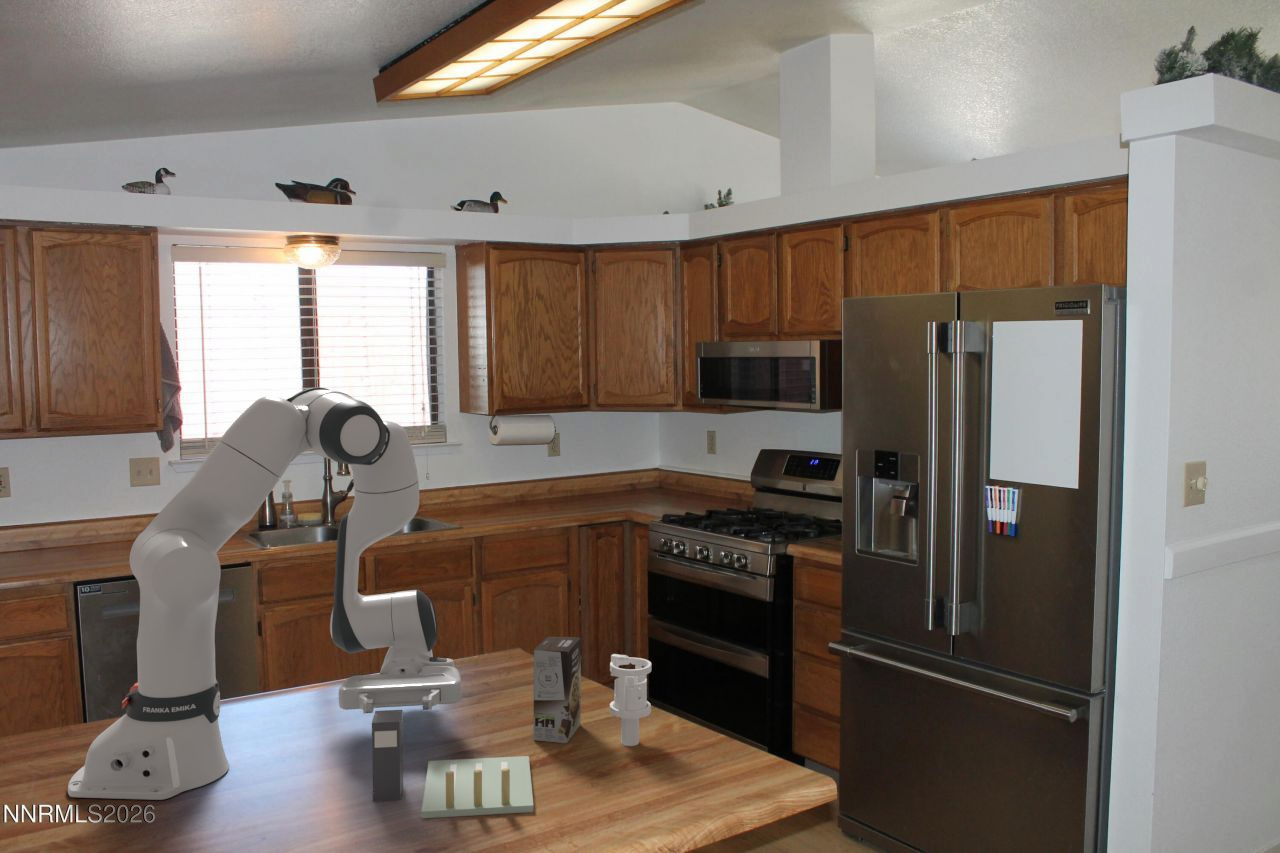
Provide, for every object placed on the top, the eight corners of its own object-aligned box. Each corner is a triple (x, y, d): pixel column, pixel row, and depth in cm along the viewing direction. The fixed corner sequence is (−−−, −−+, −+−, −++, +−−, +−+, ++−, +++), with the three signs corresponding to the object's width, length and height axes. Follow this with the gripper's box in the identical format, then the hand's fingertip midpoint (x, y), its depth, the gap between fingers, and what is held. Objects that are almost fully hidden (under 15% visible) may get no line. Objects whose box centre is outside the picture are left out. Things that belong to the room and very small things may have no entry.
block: (372, 802, 151) (371, 723, 150) (376, 787, 156) (375, 710, 155) (400, 800, 152) (399, 722, 151) (403, 785, 157) (402, 709, 156)
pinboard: (421, 818, 146) (421, 777, 146) (428, 766, 164) (428, 730, 163) (533, 811, 148) (533, 772, 148) (528, 761, 166) (528, 726, 166)
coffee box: (568, 744, 174) (568, 651, 172) (532, 741, 175) (532, 649, 174) (582, 724, 183) (582, 636, 181) (547, 722, 184) (547, 634, 183)
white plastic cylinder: (620, 732, 179) (621, 648, 178) (657, 739, 176) (658, 654, 175) (602, 746, 173) (602, 659, 172) (639, 753, 170) (640, 665, 169)
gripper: (343, 664, 177) (330, 691, 164) (462, 658, 180) (459, 684, 167) (344, 699, 178) (332, 729, 164) (463, 692, 181) (460, 722, 167)
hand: (397, 707), depth 166 cm, fingers open, 8 cm apart
